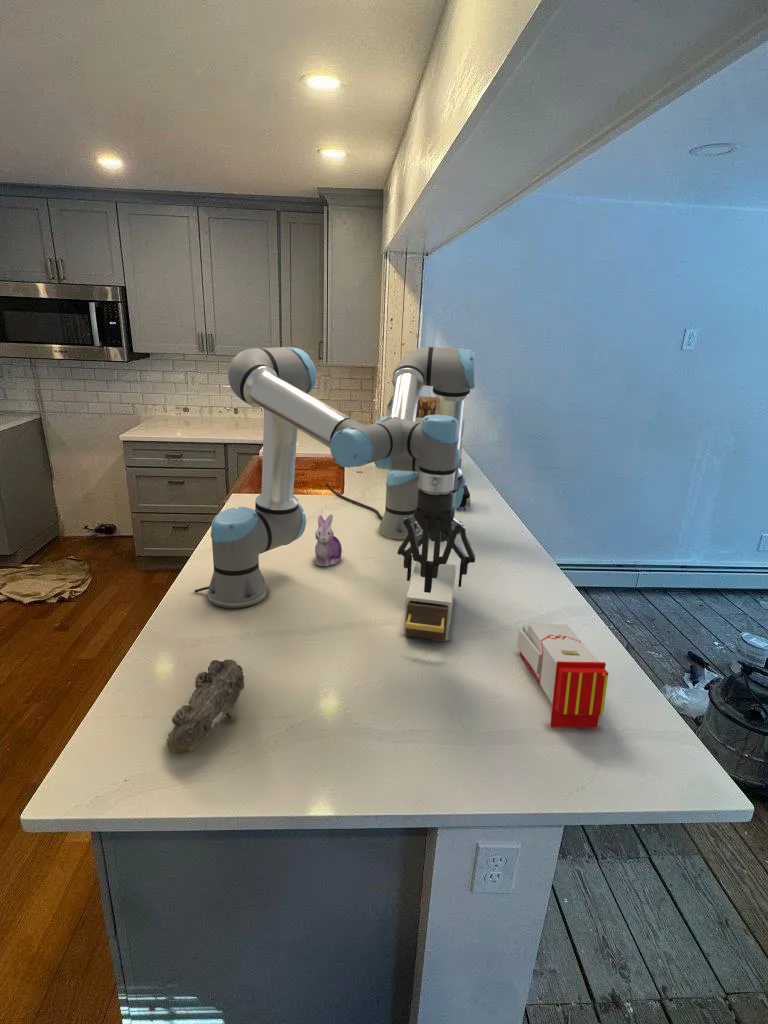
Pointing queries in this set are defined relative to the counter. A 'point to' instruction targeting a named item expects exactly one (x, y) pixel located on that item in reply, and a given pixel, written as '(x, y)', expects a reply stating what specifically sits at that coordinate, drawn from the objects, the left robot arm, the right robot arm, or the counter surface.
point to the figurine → (326, 543)
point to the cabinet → (433, 589)
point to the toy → (565, 673)
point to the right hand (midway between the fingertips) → (434, 581)
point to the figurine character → (465, 499)
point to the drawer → (426, 620)
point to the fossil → (206, 705)
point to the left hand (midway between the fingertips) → (427, 589)
